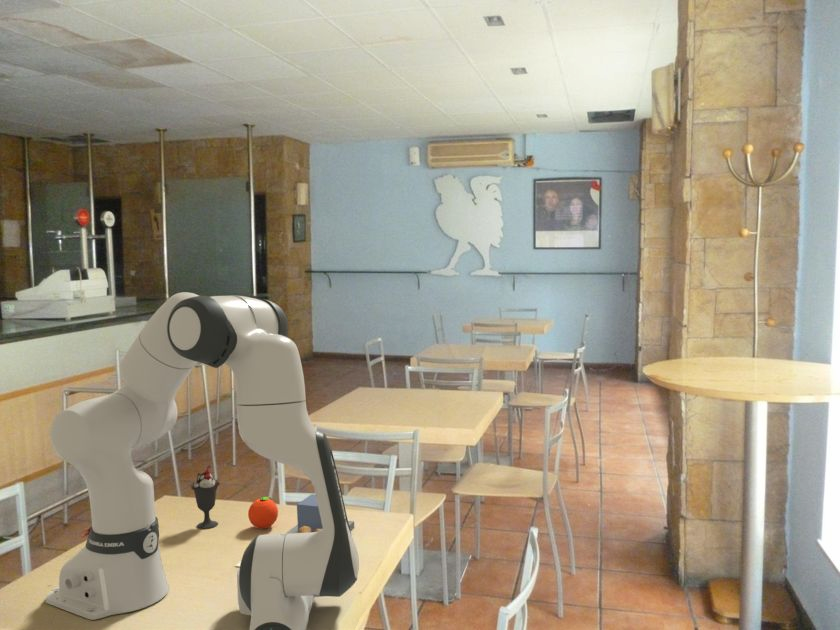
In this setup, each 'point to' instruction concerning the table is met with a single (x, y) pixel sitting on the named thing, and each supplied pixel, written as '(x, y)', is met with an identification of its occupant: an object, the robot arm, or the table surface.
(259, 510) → the clementine
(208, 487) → the sundae
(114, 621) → the table surface
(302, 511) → the tower base
